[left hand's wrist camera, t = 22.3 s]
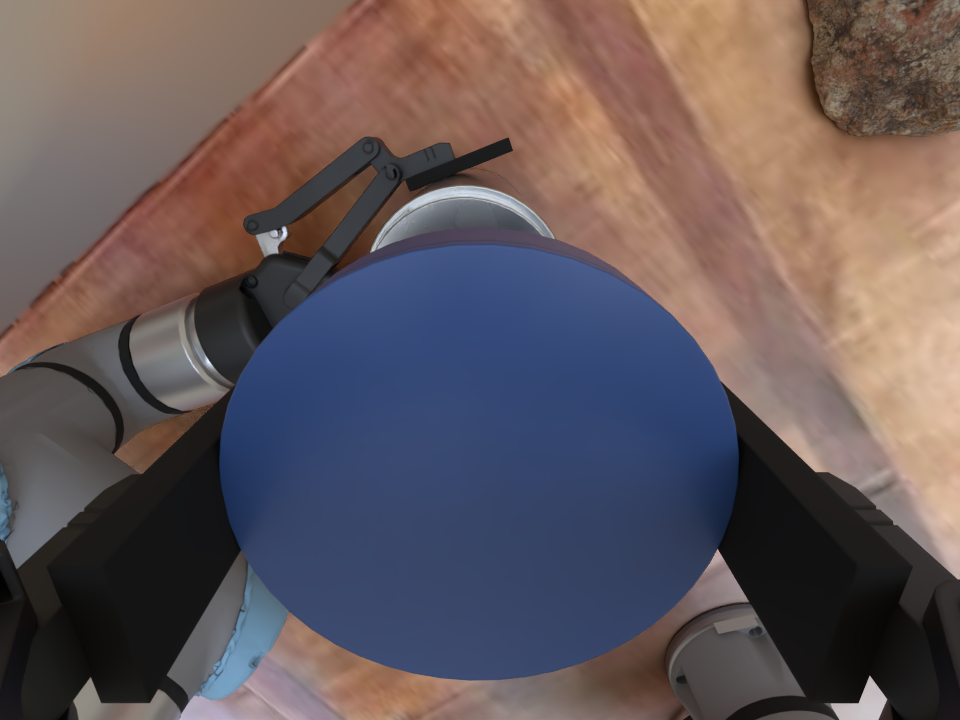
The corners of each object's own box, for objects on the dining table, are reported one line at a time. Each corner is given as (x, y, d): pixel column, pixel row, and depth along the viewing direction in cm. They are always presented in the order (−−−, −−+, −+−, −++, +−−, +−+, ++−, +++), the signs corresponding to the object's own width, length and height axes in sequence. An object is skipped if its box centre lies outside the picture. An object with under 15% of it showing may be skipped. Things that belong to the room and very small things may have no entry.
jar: (409, 288, 41) (358, 394, 24) (411, 164, 38) (352, 179, 20) (526, 295, 42) (560, 405, 24) (538, 172, 38) (588, 195, 21)
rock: (927, -100, 33) (772, -10, 35) (1070, -197, 25) (857, -72, 26) (980, 120, 37) (838, 191, 38) (1118, 100, 28) (930, 192, 30)
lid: (643, 148, 10) (680, 147, 8) (734, 553, 13) (774, 616, 12) (170, 325, 11) (109, 360, 9) (369, 650, 15) (354, 721, 13)
